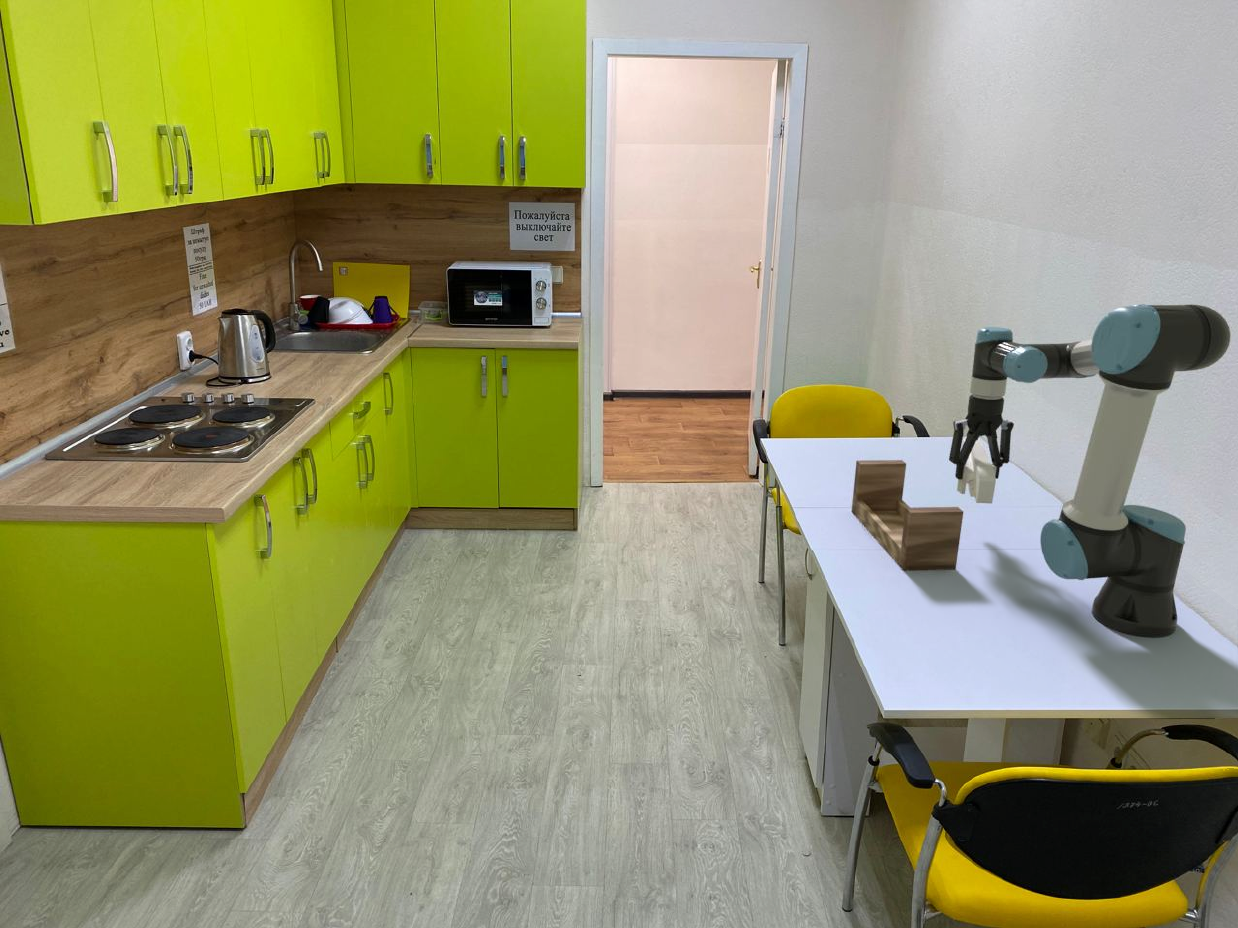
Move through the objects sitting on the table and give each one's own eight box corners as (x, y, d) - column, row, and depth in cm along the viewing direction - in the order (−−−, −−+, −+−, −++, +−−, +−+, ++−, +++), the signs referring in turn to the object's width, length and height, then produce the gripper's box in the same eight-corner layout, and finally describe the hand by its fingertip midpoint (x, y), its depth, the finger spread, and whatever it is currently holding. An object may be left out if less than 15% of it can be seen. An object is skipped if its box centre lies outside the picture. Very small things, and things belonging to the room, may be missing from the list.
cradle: (955, 569, 215) (963, 511, 210) (903, 570, 214) (910, 512, 209) (896, 510, 250) (901, 460, 245) (851, 511, 249) (856, 460, 244)
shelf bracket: (977, 475, 238) (984, 430, 232) (993, 528, 217) (1001, 479, 211) (954, 474, 239) (961, 429, 233) (967, 526, 218) (975, 478, 212)
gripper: (1019, 391, 222) (1006, 486, 229) (939, 392, 221) (929, 487, 227) (1035, 399, 215) (1021, 496, 222) (953, 399, 214) (942, 497, 220)
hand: (975, 491), depth 225 cm, fingers closed on shelf bracket, 6 cm apart
